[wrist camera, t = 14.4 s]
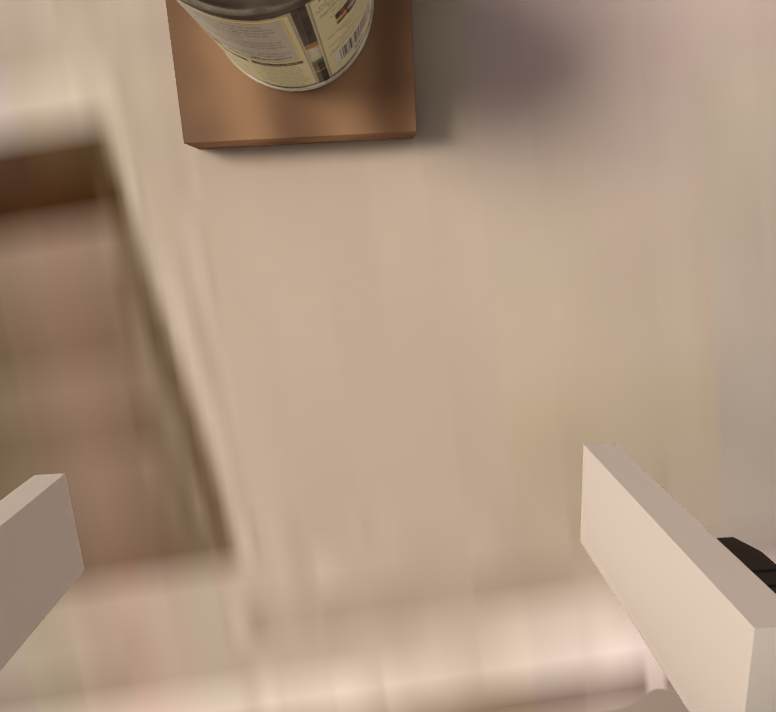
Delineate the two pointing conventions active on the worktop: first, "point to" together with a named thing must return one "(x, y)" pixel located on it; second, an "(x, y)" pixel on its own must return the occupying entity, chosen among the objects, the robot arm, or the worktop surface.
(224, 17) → the coffee can
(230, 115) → the walnut board
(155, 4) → the worktop surface
